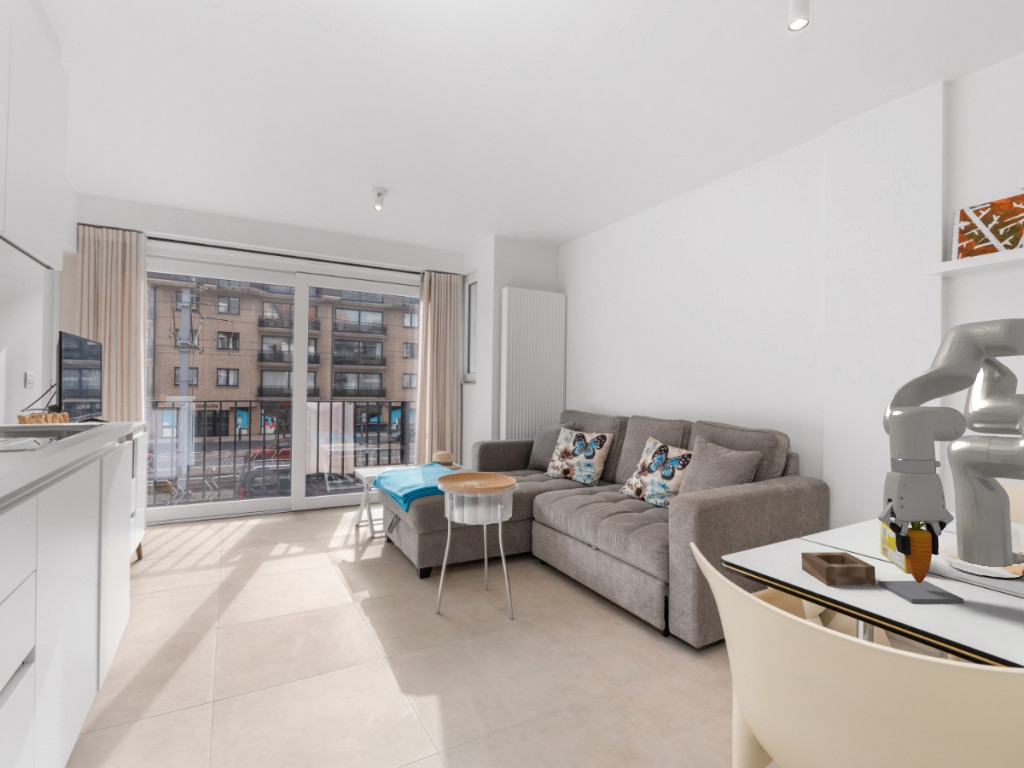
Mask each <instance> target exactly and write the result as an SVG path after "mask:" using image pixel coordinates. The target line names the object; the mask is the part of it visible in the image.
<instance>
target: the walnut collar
mask: <svg viewBox="0 0 1024 768" xmlns="http://www.w3.org/2000/svg"><path fill="white" fill-rule="evenodd" d="M800 556H801V569H802V570H803V572H805V573H807V574H809V575H810V576H812V577H813V578H814V579H816V580H818V581H820V582H821V583H823V584H824V585H825V586H876V585H877V584H876V583H877V582H876V567H875V566H874V565H872V564H870V563H868V562H866V561H864V560H862V559H860V558H858V557H857V556H854V555H852V554H851V553H848V552H846V551H843V552H841V551H839V552H838V551H837V552H834V551H831V552H829V551H827V552H825V551H824V552H801V555H800Z"/></svg>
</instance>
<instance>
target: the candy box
mask: <svg viewBox="0 0 1024 768" xmlns="http://www.w3.org/2000/svg"><path fill="white" fill-rule="evenodd" d="M879 543H880V544H879V550H880V551H879V553H880V554H881V555H883V556H884V557H885V558H886V559H888V560H889V561H890V562H892V563H893V564H894V565H895V566H896V567H898V568H899V569H900V570H901V571H903V572H904V573H906V574H911V572H910V570H909V568H908V566H907V562H906V559H905V555H904V554H902V553H900V552H898V551H897V548H896V538H895V533H894V532H892V530H891V529H890V528H889V527H888V526H887V525H886V524H884V523H883V522H881V521H879Z"/></svg>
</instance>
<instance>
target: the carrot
mask: <svg viewBox="0 0 1024 768" xmlns="http://www.w3.org/2000/svg"><path fill="white" fill-rule="evenodd" d="M909 524H910V525H911V527H908V531H907V536H909V537H910V548H911V554H910V555H905V554H904V555H905V559H906V562H907V566H908V568H909V570H910V572H911V573H910V574H911V575H912V577H913V579H914V581H917V582H918V583H921V582H922V581H925V578H926V577H927V575H928V573H929V571H930V567H931V562H932V557H933V554H932V535H931V533H930V532H929V531H927V530H926V529H923V527H925V526H924V525H925V524H926V523H923V522H909Z"/></svg>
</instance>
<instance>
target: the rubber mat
mask: <svg viewBox="0 0 1024 768" xmlns="http://www.w3.org/2000/svg"><path fill="white" fill-rule="evenodd" d="M877 583H878V586H880V587H881V588H884V589H885V590H888V591H889V592H891V593H892V594H895V595H896V596H899V597H900V598H901V599H903V600H905V601H907V602H909V603H911V604H964V602H965V599H964V598H963V597H960V596H959V595H957V594H954V593H952V592H950V591H948V590H945V589H944V588H941V587H939V586H937V585H935V584H934V583H931V582H929V581H927V580H923V581H922V582H921V583H918V582H917V581H916V580H878V581H877Z"/></svg>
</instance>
